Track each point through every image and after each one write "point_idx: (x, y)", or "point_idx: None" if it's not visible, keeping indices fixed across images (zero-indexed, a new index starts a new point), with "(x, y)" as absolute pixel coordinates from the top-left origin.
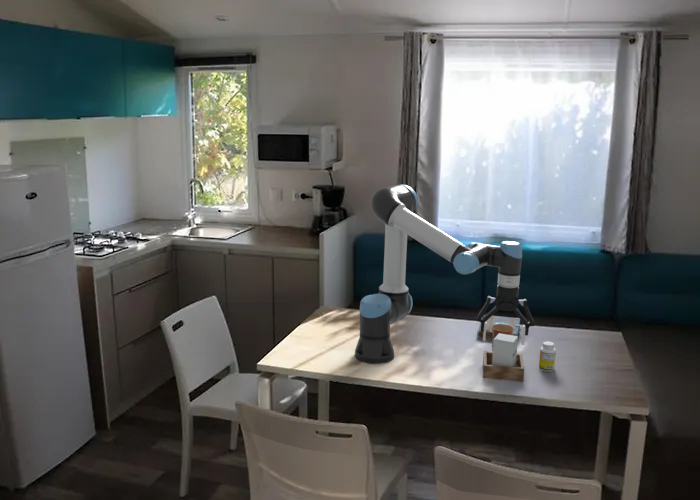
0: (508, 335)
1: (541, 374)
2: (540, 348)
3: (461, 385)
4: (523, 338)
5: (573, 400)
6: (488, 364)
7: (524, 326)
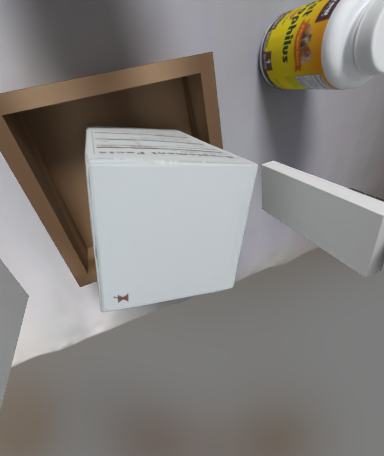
0: (189, 188)
1: (262, 120)
2: (328, 44)
3: (41, 333)
4: (296, 225)
5: (315, 247)
6: (46, 134)
7: (382, 248)
